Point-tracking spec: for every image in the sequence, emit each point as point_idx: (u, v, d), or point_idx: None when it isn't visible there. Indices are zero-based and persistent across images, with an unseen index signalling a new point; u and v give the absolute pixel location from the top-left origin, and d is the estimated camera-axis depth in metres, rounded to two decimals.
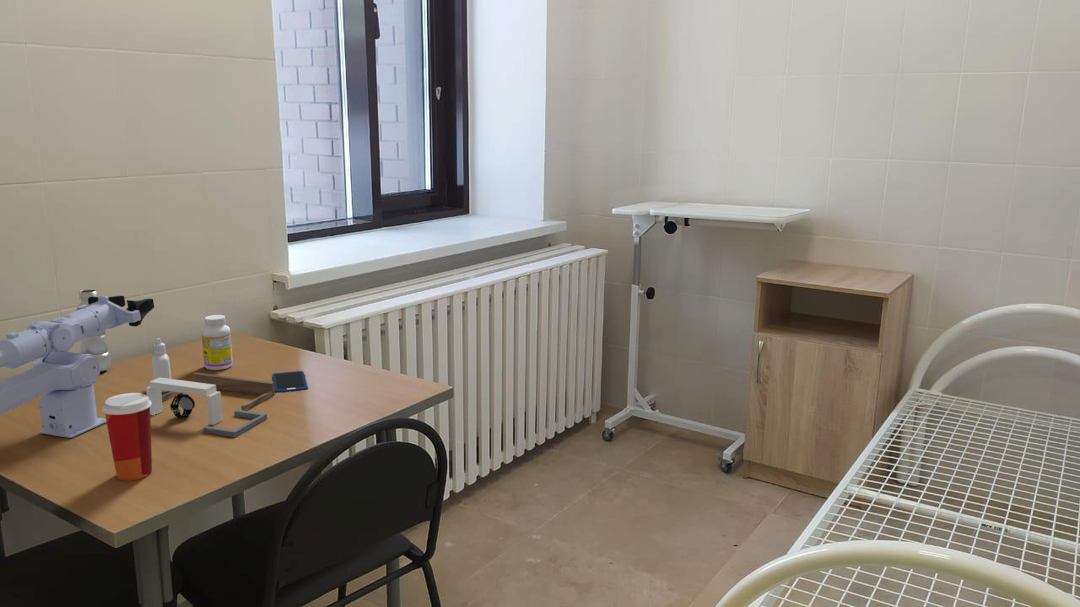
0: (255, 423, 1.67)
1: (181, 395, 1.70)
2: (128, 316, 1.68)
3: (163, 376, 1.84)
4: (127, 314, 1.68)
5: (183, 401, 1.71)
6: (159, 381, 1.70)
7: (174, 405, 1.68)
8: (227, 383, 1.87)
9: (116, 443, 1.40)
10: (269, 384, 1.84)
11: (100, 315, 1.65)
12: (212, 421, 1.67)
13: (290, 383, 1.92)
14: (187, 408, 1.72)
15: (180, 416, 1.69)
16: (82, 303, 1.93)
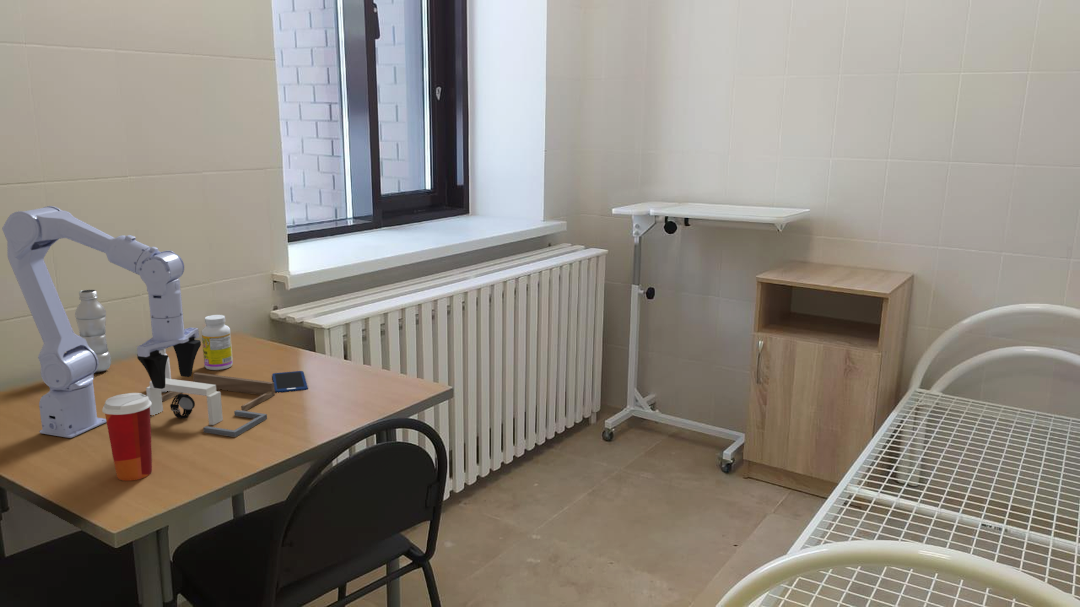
0: (255, 423, 1.67)
1: (181, 395, 1.70)
2: (147, 345, 1.54)
3: None
4: None
5: (183, 401, 1.71)
6: None
7: (174, 405, 1.68)
8: (227, 383, 1.87)
9: (116, 443, 1.40)
10: (269, 384, 1.84)
11: (163, 323, 1.56)
12: (212, 421, 1.67)
13: (290, 383, 1.92)
14: (187, 408, 1.72)
15: (180, 416, 1.69)
16: (82, 303, 1.93)
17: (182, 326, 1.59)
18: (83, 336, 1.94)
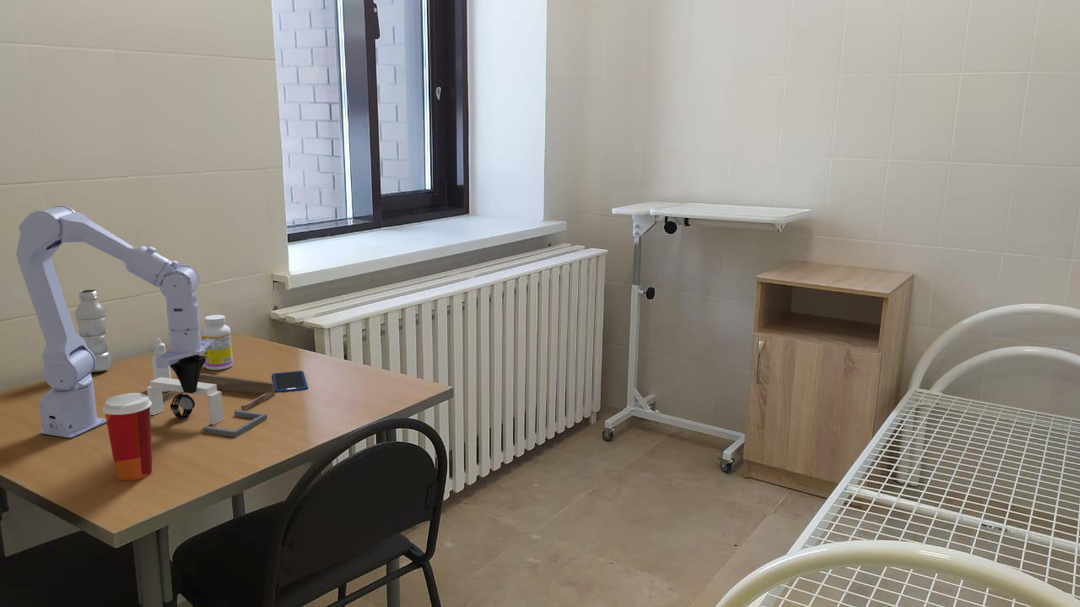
0: (255, 423, 1.67)
1: (181, 395, 1.70)
2: (165, 357, 1.59)
3: (163, 376, 1.84)
4: None
5: (183, 401, 1.71)
6: (160, 381, 1.70)
7: (174, 405, 1.68)
8: (227, 383, 1.87)
9: (117, 443, 1.40)
10: (269, 384, 1.84)
11: (180, 335, 1.61)
12: (212, 420, 1.67)
13: (290, 383, 1.92)
14: (187, 408, 1.72)
15: (180, 416, 1.69)
16: (82, 303, 1.93)
17: (199, 338, 1.64)
18: (83, 336, 1.94)
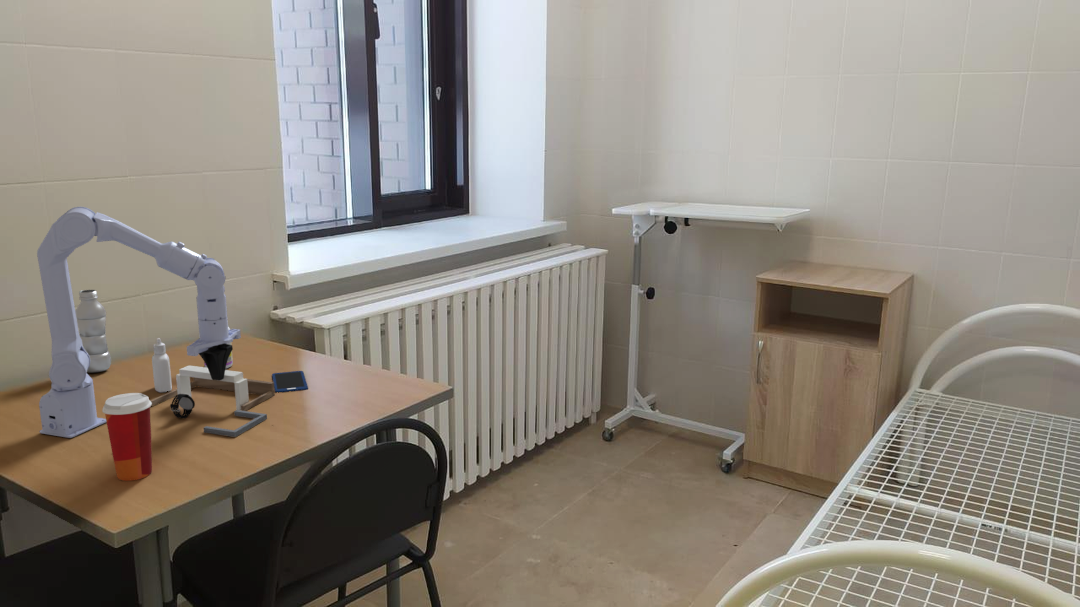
0: (255, 423, 1.67)
1: (181, 395, 1.70)
2: (195, 345, 1.67)
3: (163, 376, 1.84)
4: None
5: (183, 401, 1.71)
6: (189, 369, 1.78)
7: (174, 405, 1.68)
8: (227, 383, 1.87)
9: (117, 443, 1.40)
10: (269, 384, 1.84)
11: (210, 324, 1.68)
12: (239, 406, 1.75)
13: (290, 383, 1.92)
14: (187, 408, 1.72)
15: (180, 416, 1.69)
16: (82, 303, 1.93)
17: (227, 328, 1.72)
18: (83, 336, 1.94)
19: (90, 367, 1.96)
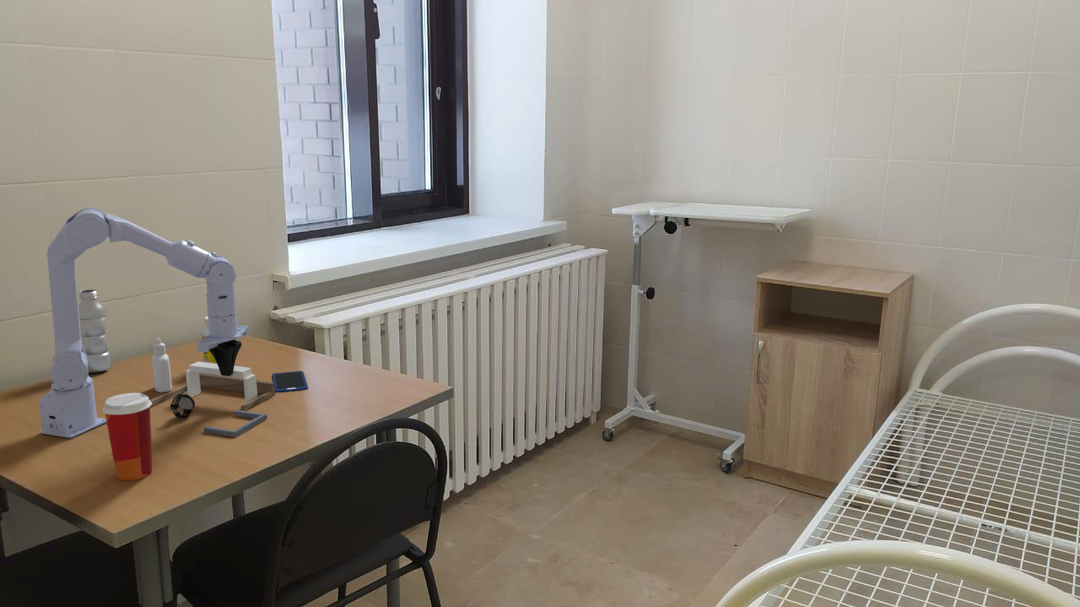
0: (255, 423, 1.67)
1: (181, 395, 1.70)
2: (205, 342, 1.69)
3: (163, 376, 1.84)
4: None
5: (183, 401, 1.71)
6: (198, 365, 1.81)
7: (174, 405, 1.68)
8: (227, 383, 1.87)
9: (117, 443, 1.40)
10: (269, 384, 1.84)
11: (219, 321, 1.71)
12: None
13: (290, 383, 1.92)
14: (187, 408, 1.72)
15: (180, 416, 1.69)
16: (82, 303, 1.93)
17: (236, 324, 1.74)
18: (83, 336, 1.94)
19: (90, 367, 1.96)
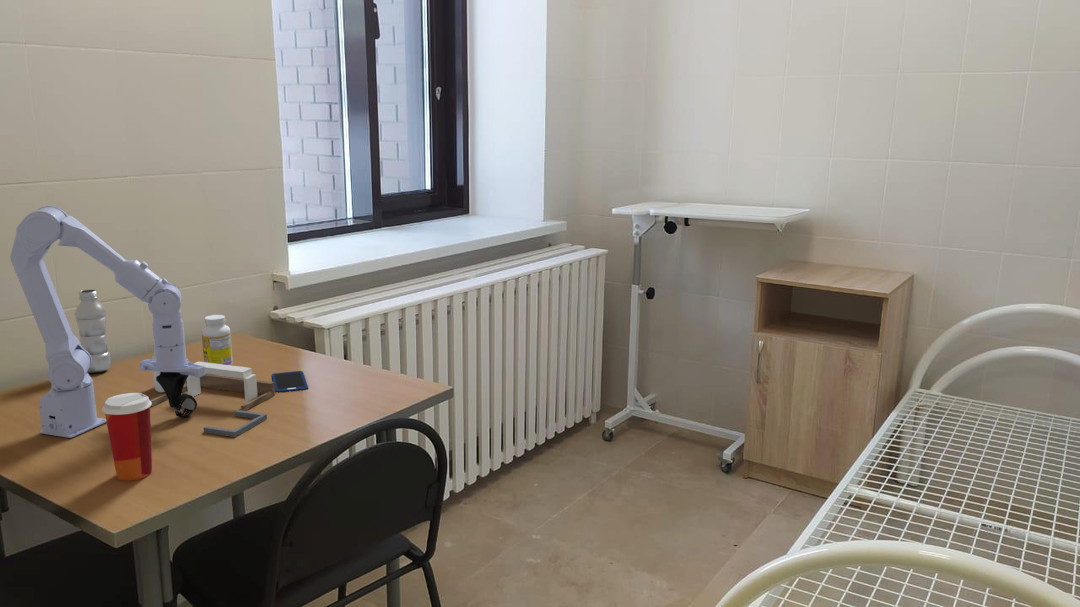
0: (255, 423, 1.67)
1: (185, 396, 1.69)
2: None
3: None
4: None
5: (186, 401, 1.71)
6: None
7: (177, 405, 1.68)
8: (227, 383, 1.87)
9: (116, 443, 1.40)
10: (269, 384, 1.84)
11: (184, 347, 1.68)
12: None
13: (290, 383, 1.92)
14: (188, 408, 1.72)
15: (181, 416, 1.69)
16: (82, 303, 1.93)
17: None
18: (83, 336, 1.94)
19: (90, 367, 1.96)
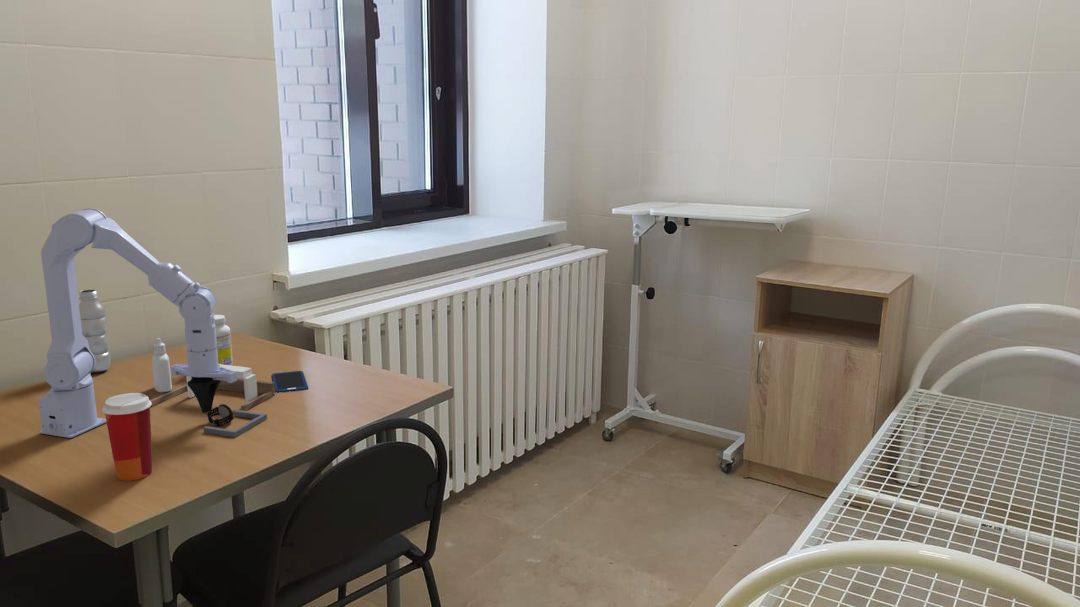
0: (255, 423, 1.67)
1: (230, 418, 1.68)
2: None
3: (163, 376, 1.84)
4: None
5: (225, 412, 1.69)
6: None
7: (218, 423, 1.66)
8: (227, 383, 1.87)
9: (116, 443, 1.40)
10: (269, 384, 1.84)
11: (216, 351, 1.66)
12: None
13: (290, 383, 1.92)
14: (219, 412, 1.70)
15: (209, 420, 1.67)
16: (82, 303, 1.93)
17: None
18: None
19: None
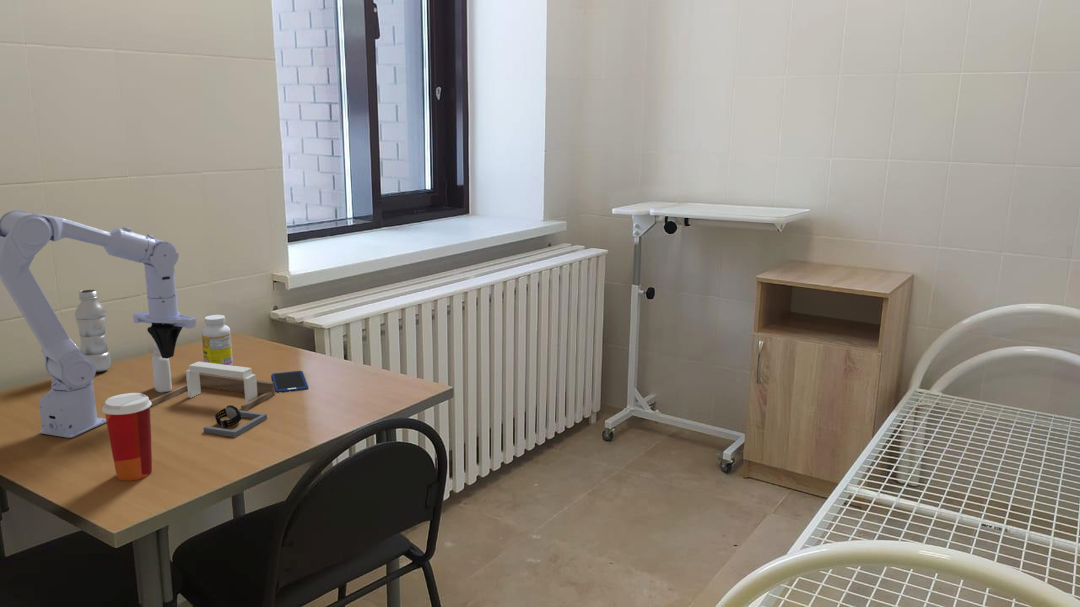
0: (255, 423, 1.67)
1: (238, 419, 1.67)
2: None
3: (163, 376, 1.84)
4: None
5: (233, 413, 1.68)
6: (198, 365, 1.81)
7: (226, 424, 1.65)
8: (227, 383, 1.87)
9: (116, 443, 1.40)
10: (269, 384, 1.84)
11: (176, 299, 1.74)
12: None
13: (290, 383, 1.92)
14: (227, 413, 1.69)
15: (217, 422, 1.67)
16: (82, 303, 1.93)
17: None
18: (83, 336, 1.94)
19: None
